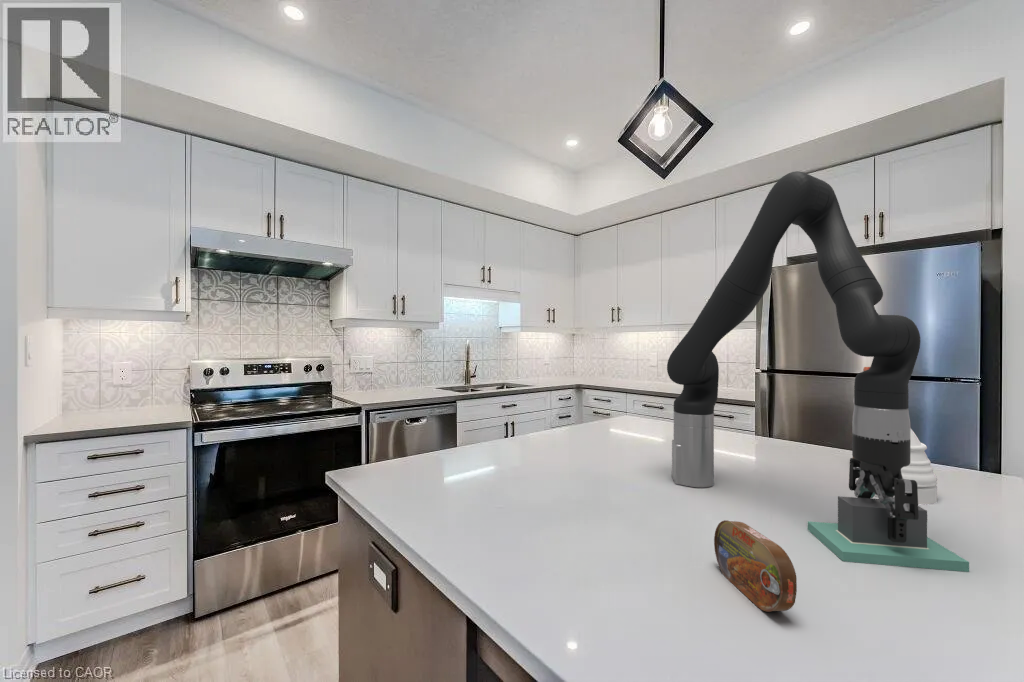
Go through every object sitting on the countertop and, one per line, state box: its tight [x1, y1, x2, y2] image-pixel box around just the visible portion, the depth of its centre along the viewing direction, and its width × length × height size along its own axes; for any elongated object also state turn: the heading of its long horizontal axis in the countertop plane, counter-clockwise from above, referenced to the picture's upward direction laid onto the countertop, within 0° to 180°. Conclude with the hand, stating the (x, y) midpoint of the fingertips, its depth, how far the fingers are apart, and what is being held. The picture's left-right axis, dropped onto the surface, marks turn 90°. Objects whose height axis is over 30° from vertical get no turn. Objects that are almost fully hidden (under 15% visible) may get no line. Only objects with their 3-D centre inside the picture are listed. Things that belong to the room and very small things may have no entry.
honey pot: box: [874, 428, 938, 506], centre depth 101 cm, size 13×13×18 cm
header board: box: [807, 521, 970, 573], centre depth 75 cm, size 17×12×5 cm
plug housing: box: [837, 495, 928, 548], centre depth 75 cm, size 11×5×6 cm, turn 79°
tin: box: [713, 520, 798, 613], centre depth 62 cm, size 15×3×8 cm, turn 5°
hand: (880, 530), depth 75 cm, fingers open, 8 cm apart
